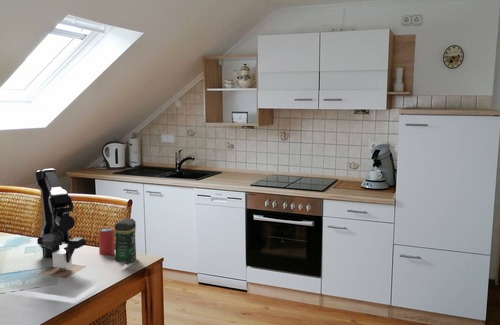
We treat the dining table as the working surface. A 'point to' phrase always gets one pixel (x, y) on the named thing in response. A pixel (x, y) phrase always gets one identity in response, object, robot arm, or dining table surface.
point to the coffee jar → (125, 241)
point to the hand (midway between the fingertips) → (62, 261)
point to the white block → (60, 259)
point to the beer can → (106, 242)
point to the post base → (62, 271)
